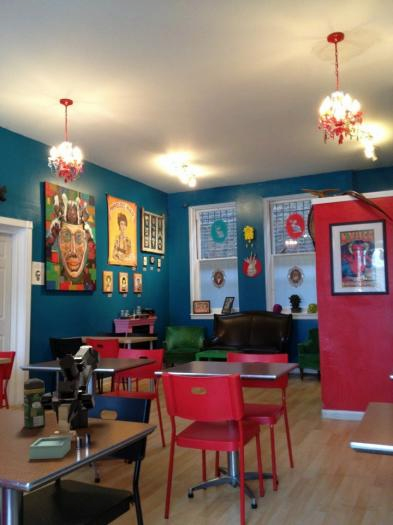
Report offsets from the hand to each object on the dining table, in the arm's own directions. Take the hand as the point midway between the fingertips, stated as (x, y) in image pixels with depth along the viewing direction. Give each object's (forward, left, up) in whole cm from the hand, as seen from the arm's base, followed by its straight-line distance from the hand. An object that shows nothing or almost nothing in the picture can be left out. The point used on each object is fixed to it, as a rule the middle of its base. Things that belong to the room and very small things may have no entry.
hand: (63, 422), depth 168 cm
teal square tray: (+5, +13, -6) cm, 15 cm away
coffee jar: (+7, -32, -7) cm, 34 cm away
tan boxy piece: (0, +1, -5) cm, 5 cm away
